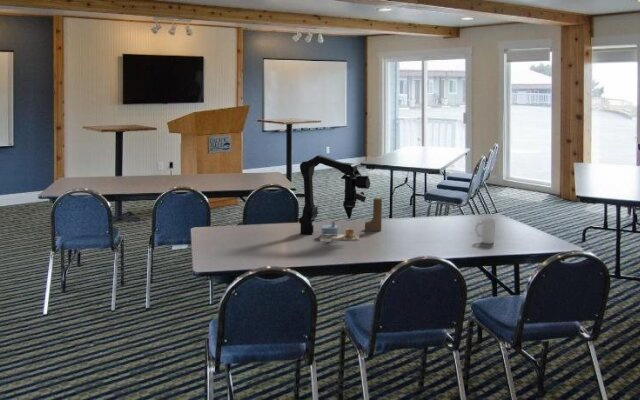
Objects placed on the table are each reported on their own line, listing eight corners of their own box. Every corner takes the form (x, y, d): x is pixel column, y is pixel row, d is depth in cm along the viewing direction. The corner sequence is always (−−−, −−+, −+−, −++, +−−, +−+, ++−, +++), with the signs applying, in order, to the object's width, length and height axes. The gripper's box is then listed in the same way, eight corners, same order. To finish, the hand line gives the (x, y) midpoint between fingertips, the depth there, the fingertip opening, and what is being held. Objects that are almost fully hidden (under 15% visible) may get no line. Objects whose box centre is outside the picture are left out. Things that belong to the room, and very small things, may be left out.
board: (318, 239, 381) (318, 237, 381) (320, 235, 391) (320, 234, 391) (358, 240, 379) (358, 238, 379) (359, 236, 389) (359, 234, 389)
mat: (320, 241, 375) (320, 240, 375) (320, 239, 380) (320, 238, 380) (330, 241, 374) (330, 240, 374) (331, 239, 380) (331, 238, 380)
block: (345, 238, 383) (345, 229, 382) (346, 237, 387) (346, 228, 386) (353, 239, 382) (353, 229, 382) (353, 237, 386) (353, 228, 385)
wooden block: (364, 230, 404) (365, 198, 402) (365, 229, 409) (365, 197, 406) (380, 231, 403) (381, 199, 400) (381, 229, 408) (382, 198, 405)
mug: (493, 241, 378) (494, 218, 376) (495, 243, 372) (496, 220, 370) (473, 240, 379) (474, 218, 377) (475, 243, 372) (476, 220, 371)
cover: (321, 237, 381) (321, 222, 380) (322, 233, 390) (322, 219, 389) (336, 237, 381) (336, 222, 380) (337, 234, 389) (337, 219, 388)
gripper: (365, 190, 370) (364, 220, 373) (366, 185, 389) (365, 214, 391) (343, 190, 371) (342, 220, 374) (345, 185, 390) (344, 213, 392)
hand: (349, 217), depth 383 cm, fingers open, 9 cm apart
